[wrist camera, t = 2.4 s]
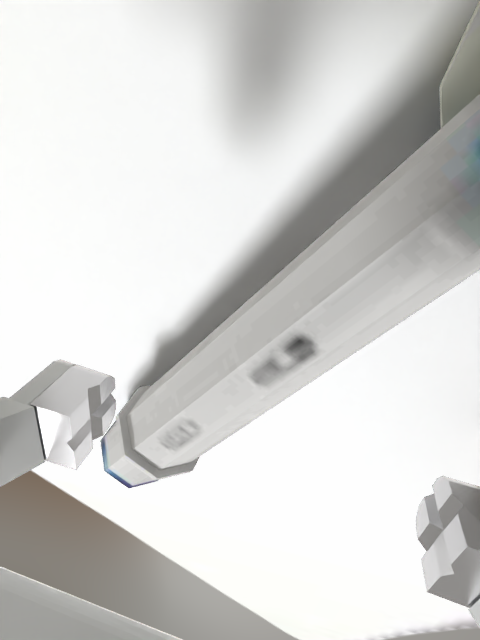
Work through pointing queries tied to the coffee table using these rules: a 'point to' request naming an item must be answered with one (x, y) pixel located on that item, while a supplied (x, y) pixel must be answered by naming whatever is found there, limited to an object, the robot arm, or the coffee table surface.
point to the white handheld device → (322, 296)
